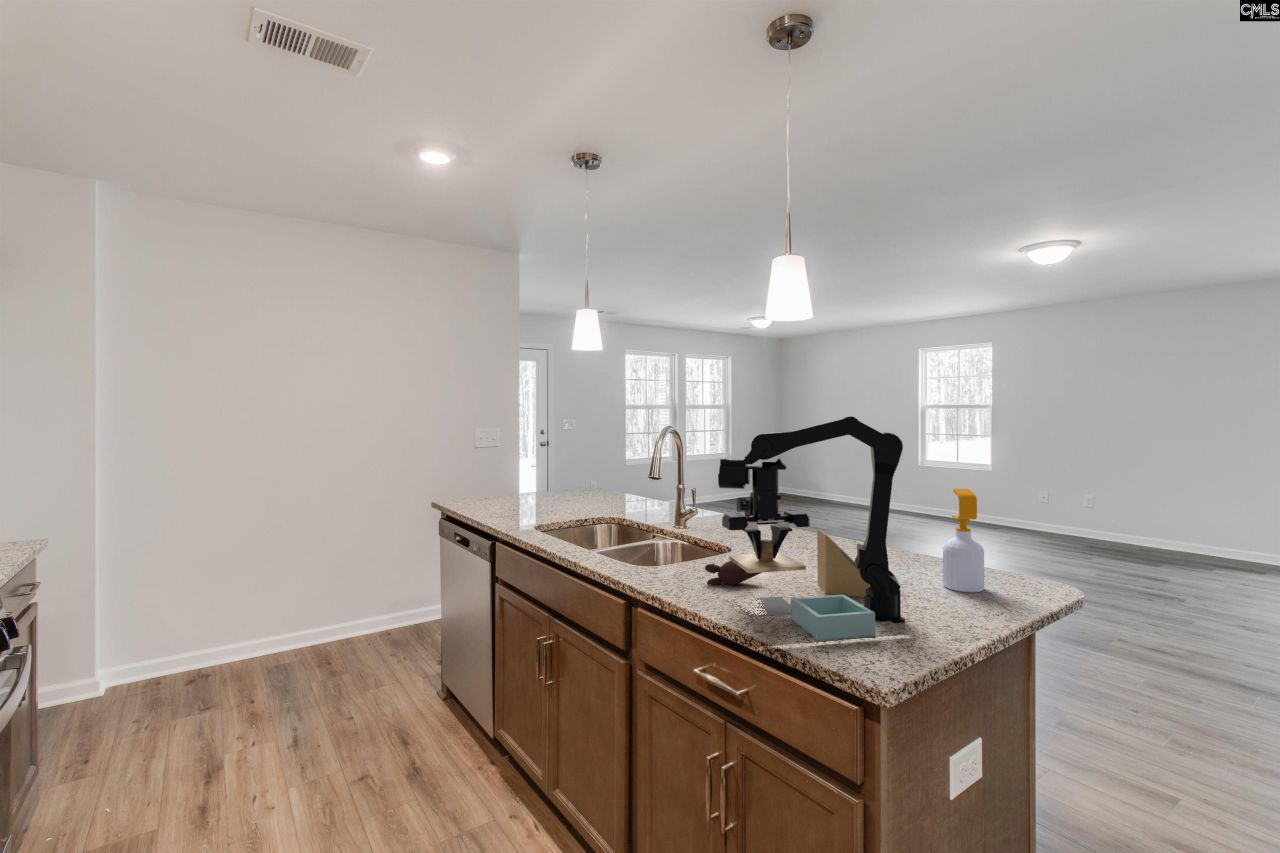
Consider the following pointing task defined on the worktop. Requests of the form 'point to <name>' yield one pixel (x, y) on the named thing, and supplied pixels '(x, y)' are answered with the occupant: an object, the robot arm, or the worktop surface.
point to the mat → (772, 607)
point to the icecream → (728, 574)
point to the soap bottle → (964, 550)
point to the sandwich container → (837, 569)
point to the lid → (766, 560)
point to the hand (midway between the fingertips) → (765, 558)
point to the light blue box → (833, 617)
